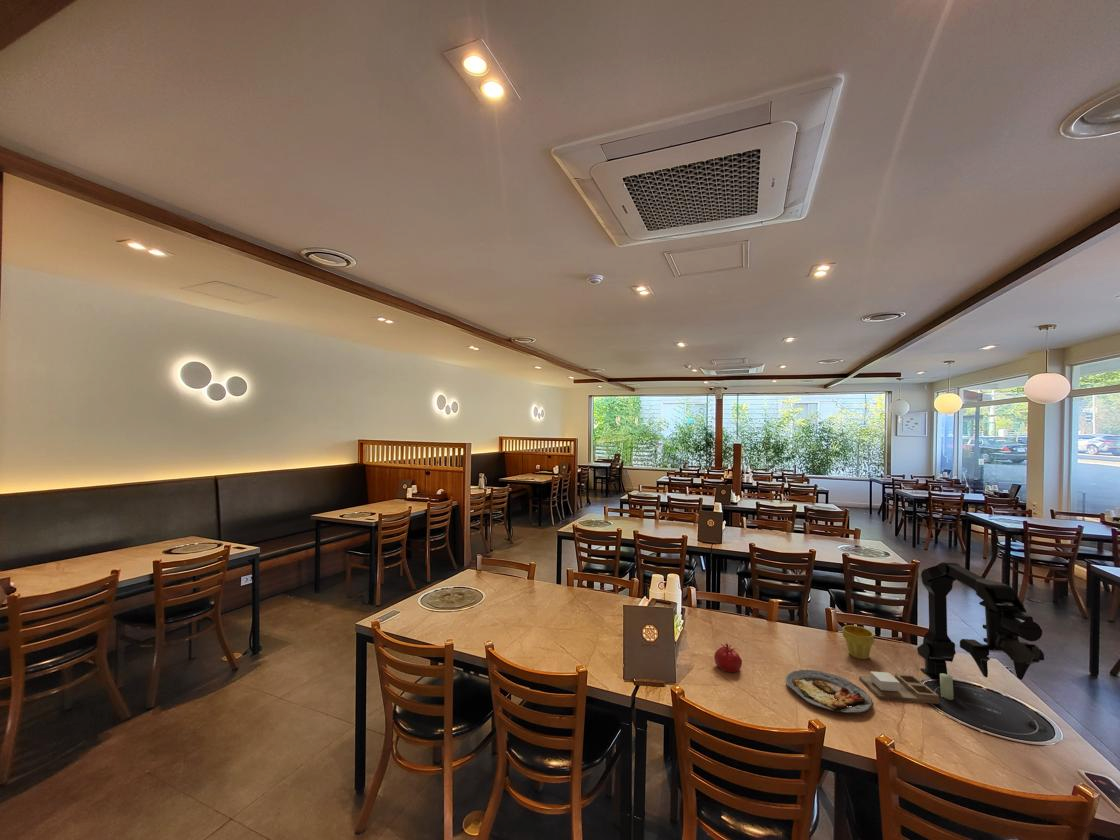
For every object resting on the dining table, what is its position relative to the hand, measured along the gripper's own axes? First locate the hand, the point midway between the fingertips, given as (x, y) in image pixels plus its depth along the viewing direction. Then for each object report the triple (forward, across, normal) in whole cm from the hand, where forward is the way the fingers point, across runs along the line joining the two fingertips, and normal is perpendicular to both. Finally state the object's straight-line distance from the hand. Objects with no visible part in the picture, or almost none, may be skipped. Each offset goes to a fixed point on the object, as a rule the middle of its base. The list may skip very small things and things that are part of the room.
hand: (1002, 677), depth 127 cm
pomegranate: (+15, -75, +23) cm, 80 cm away
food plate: (+15, -45, +10) cm, 49 cm away
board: (+15, -20, +16) cm, 30 cm away
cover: (+13, -24, +15) cm, 32 cm away
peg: (+15, -6, +14) cm, 21 cm away
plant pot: (+15, -20, +40) cm, 47 cm away
